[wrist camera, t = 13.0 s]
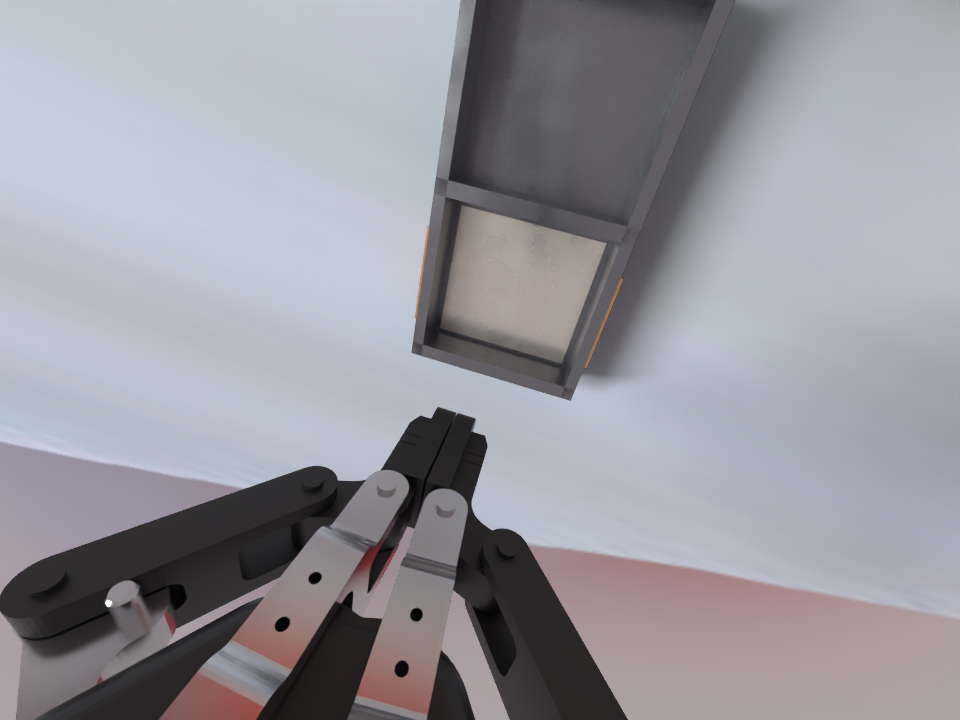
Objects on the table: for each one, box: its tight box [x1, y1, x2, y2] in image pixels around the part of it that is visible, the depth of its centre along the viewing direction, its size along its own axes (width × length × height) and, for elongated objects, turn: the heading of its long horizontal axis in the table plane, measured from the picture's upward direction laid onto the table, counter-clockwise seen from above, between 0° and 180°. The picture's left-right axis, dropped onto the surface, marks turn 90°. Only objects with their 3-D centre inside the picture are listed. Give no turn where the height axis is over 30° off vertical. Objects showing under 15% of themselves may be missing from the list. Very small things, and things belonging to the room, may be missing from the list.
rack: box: [412, 0, 735, 401], centre depth 26 cm, size 25×14×4 cm, turn 168°
